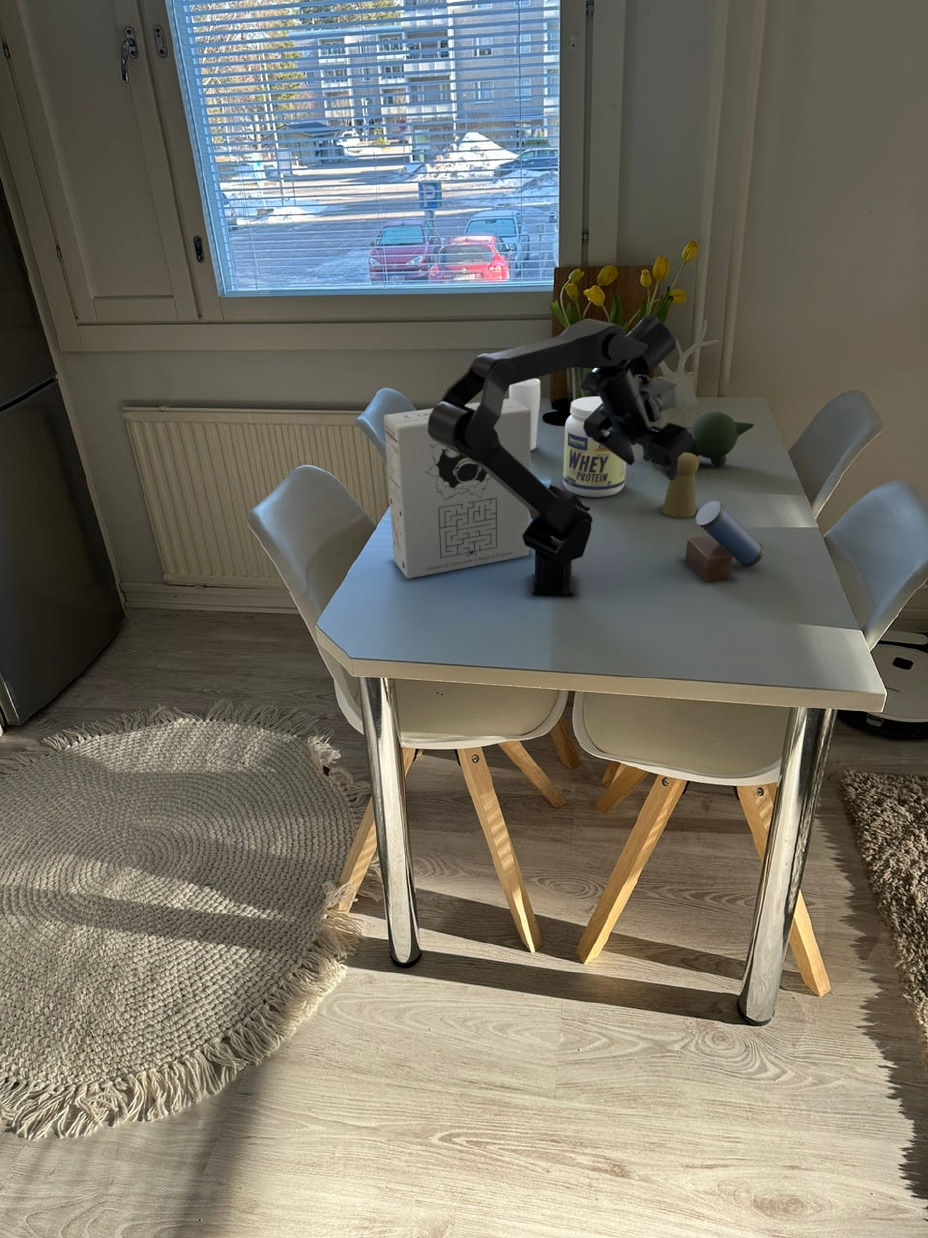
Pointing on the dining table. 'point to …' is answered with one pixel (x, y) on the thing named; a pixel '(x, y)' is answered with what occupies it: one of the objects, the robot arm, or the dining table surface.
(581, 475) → the supplement tub
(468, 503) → the cereal box
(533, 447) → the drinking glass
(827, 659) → the dining table surface
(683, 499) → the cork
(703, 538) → the walnut block
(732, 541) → the tube
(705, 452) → the toy figurine
